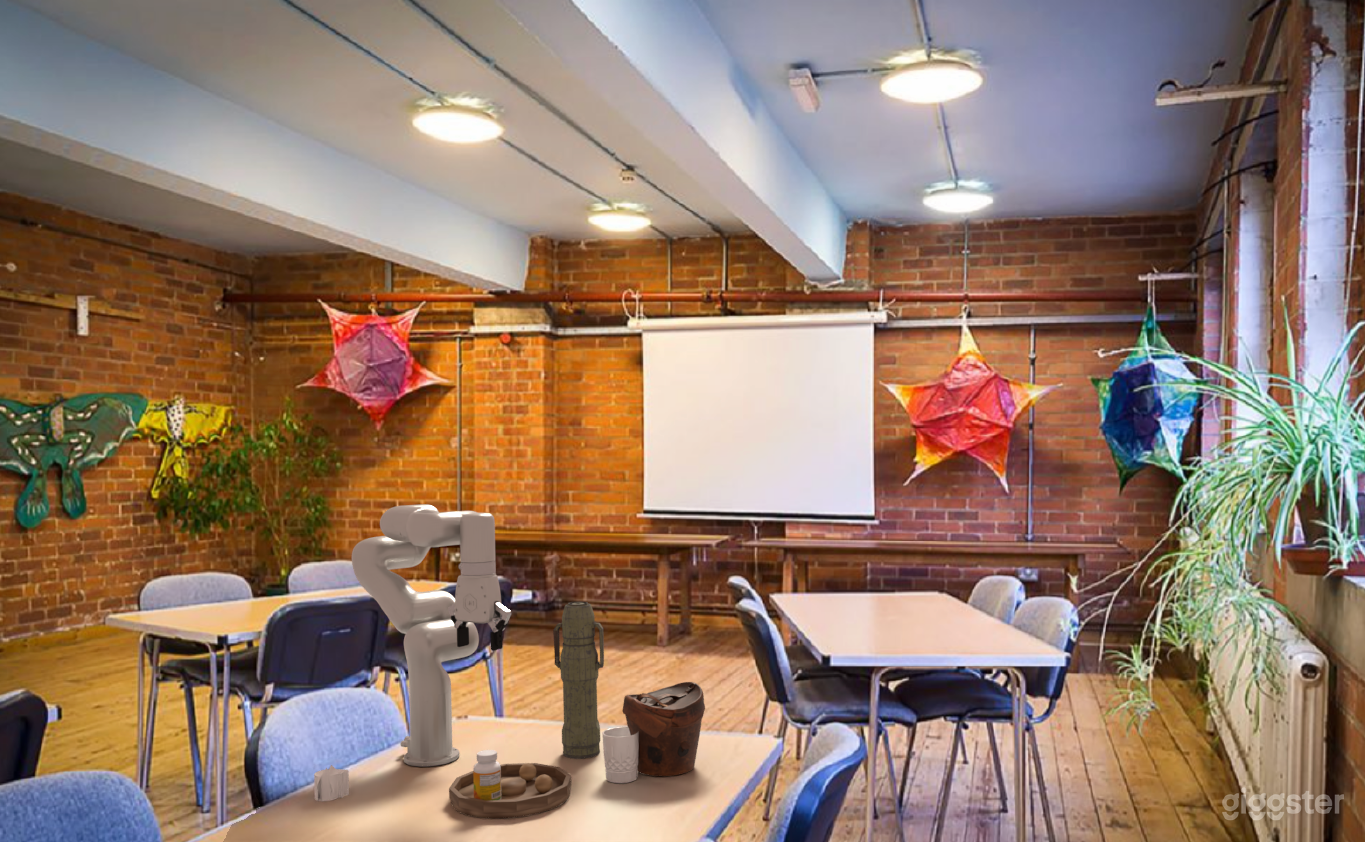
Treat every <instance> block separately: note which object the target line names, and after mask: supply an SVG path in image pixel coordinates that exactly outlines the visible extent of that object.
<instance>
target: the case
mask: <svg viewBox="0 0 1365 842" xmlns="http://www.w3.org/2000/svg"><path fill="white" fill-rule="evenodd" d="M705 710H706V704H705V699H704V691H703V689H702V687H701V685H699V684H698V683H696V682H695V681H684V682H683V681H682V682H679V683H676V684H673V685H670V686H666V687H663V688H659V689H657V690H653V691H649V692H645V693H644V692H643V693H638V694H627V695H624V698H623V705H622V713H623V715H625V720H626V725H627V726H626V727H629V731H630V734H631V735H634V734H636V733H637V732H638V731H639V755H638V766H637V767H638V773H640V774H643V775H645V776H653V777H671V776H679V775H683V774H685V773H688V772H691V771H692V770H693V769H694V768H695V765H696V759H697V754H698V746H699V740H700V735H701V728H702V721H703V718H704V714H705Z"/></svg>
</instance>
